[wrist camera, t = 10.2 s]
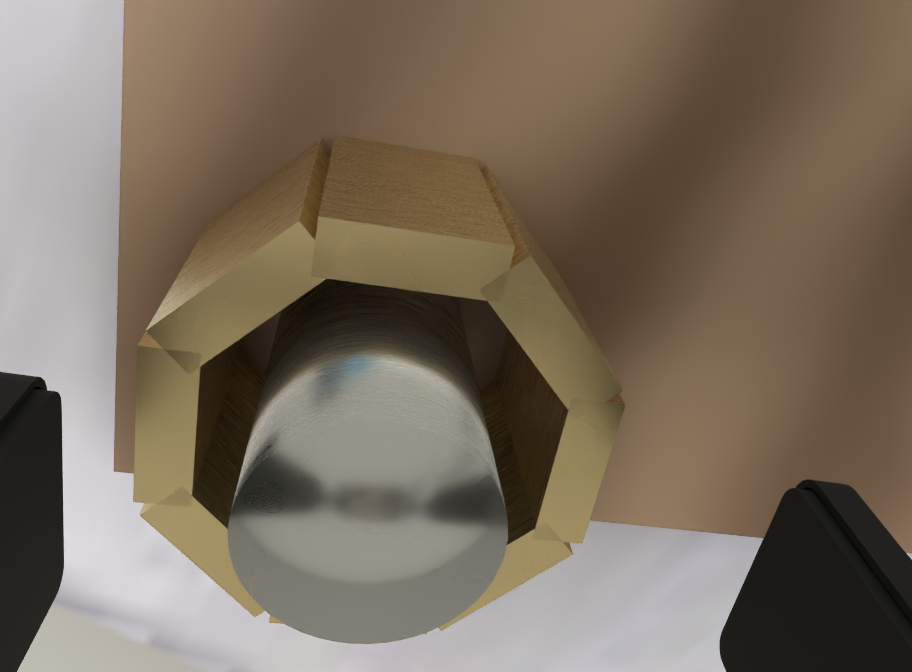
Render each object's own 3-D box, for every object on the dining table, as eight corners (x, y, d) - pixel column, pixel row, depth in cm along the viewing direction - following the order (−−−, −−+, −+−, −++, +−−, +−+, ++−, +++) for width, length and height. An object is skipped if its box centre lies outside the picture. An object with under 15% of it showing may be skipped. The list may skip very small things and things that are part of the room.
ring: (585, 176, 16) (667, 269, 12) (509, 476, 19) (551, 642, 14) (212, 113, 15) (142, 189, 10) (191, 443, 18) (130, 612, 13)
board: (1184, 23, 16) (1212, 26, 16) (911, 539, 22) (925, 554, 21) (139, -221, 13) (128, -228, 13) (121, 456, 18) (113, 471, 18)
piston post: (474, 248, 16) (536, 439, 10) (441, 402, 18) (477, 652, 12) (293, 220, 16) (239, 404, 10) (274, 382, 17) (217, 633, 11)
